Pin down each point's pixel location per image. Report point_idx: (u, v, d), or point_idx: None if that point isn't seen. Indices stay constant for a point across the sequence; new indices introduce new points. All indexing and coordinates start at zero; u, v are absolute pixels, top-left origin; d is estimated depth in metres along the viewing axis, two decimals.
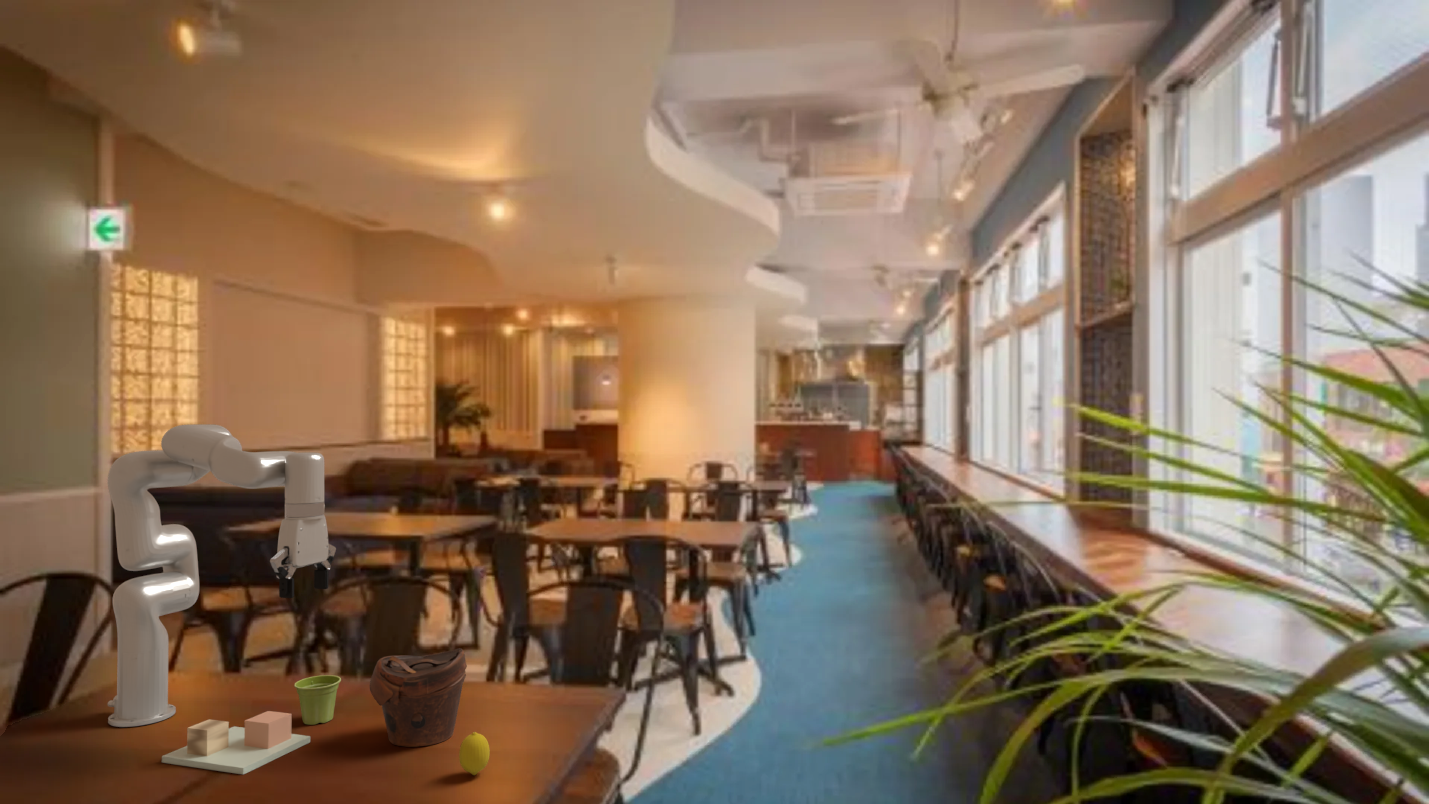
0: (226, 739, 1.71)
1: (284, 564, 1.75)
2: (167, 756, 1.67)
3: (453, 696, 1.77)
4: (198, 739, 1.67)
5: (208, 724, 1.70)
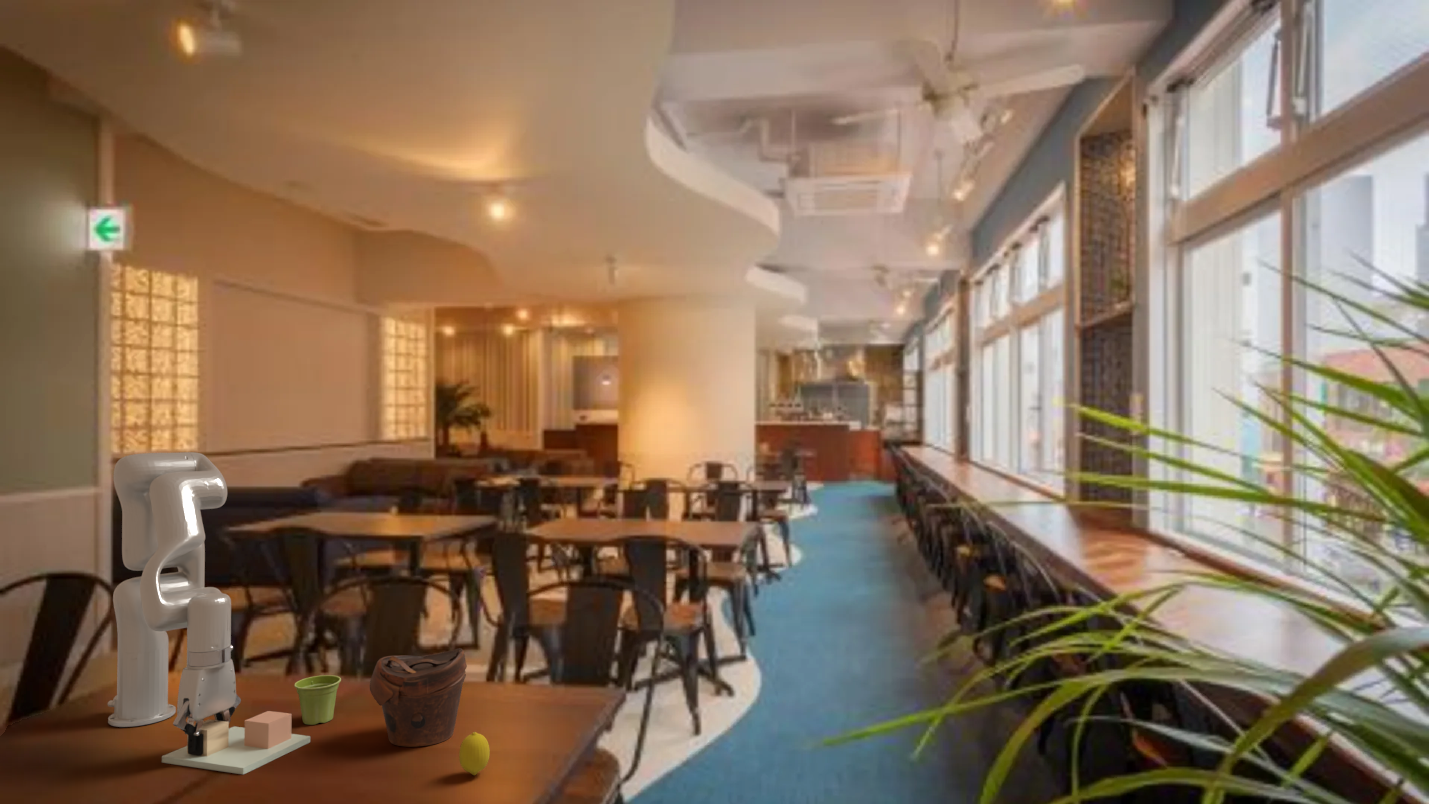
0: (226, 739, 1.71)
1: None
2: (167, 756, 1.67)
3: (453, 696, 1.77)
4: None
5: (208, 724, 1.70)
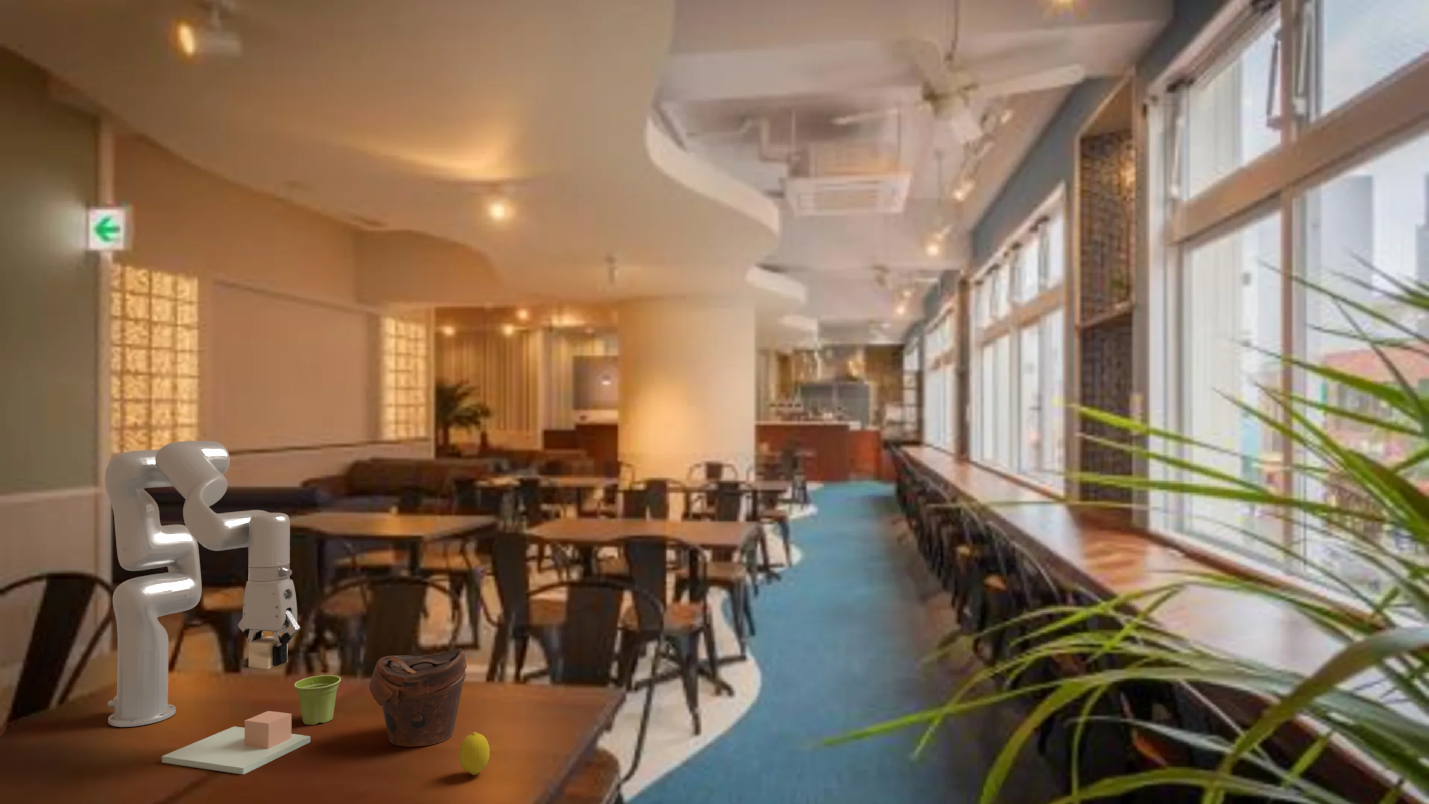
0: (266, 660, 1.71)
1: None
2: (167, 756, 1.67)
3: (453, 696, 1.77)
4: None
5: (269, 639, 1.75)
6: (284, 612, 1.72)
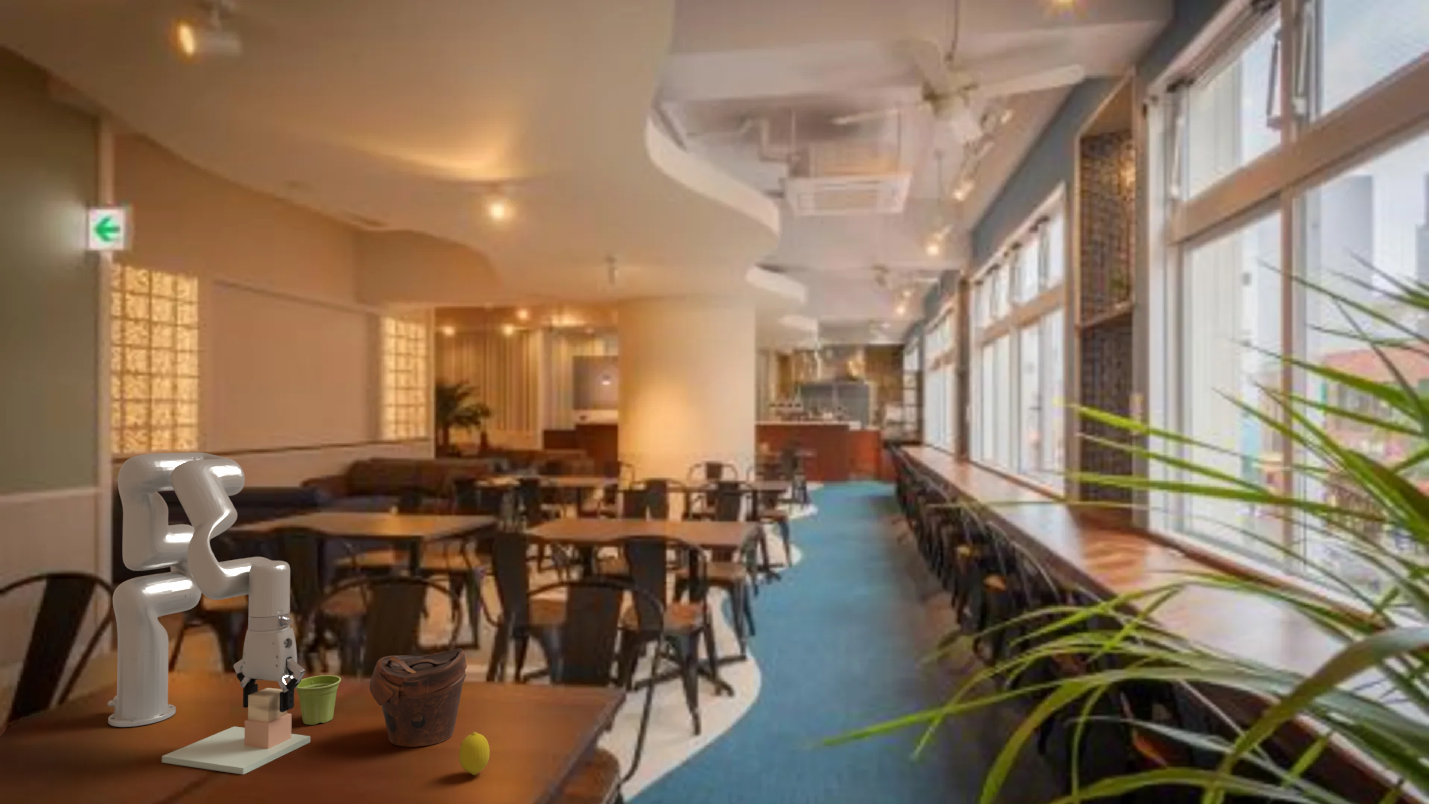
0: (266, 714, 1.71)
1: None
2: (167, 756, 1.67)
3: (453, 696, 1.77)
4: None
5: (269, 692, 1.74)
6: (284, 661, 1.72)
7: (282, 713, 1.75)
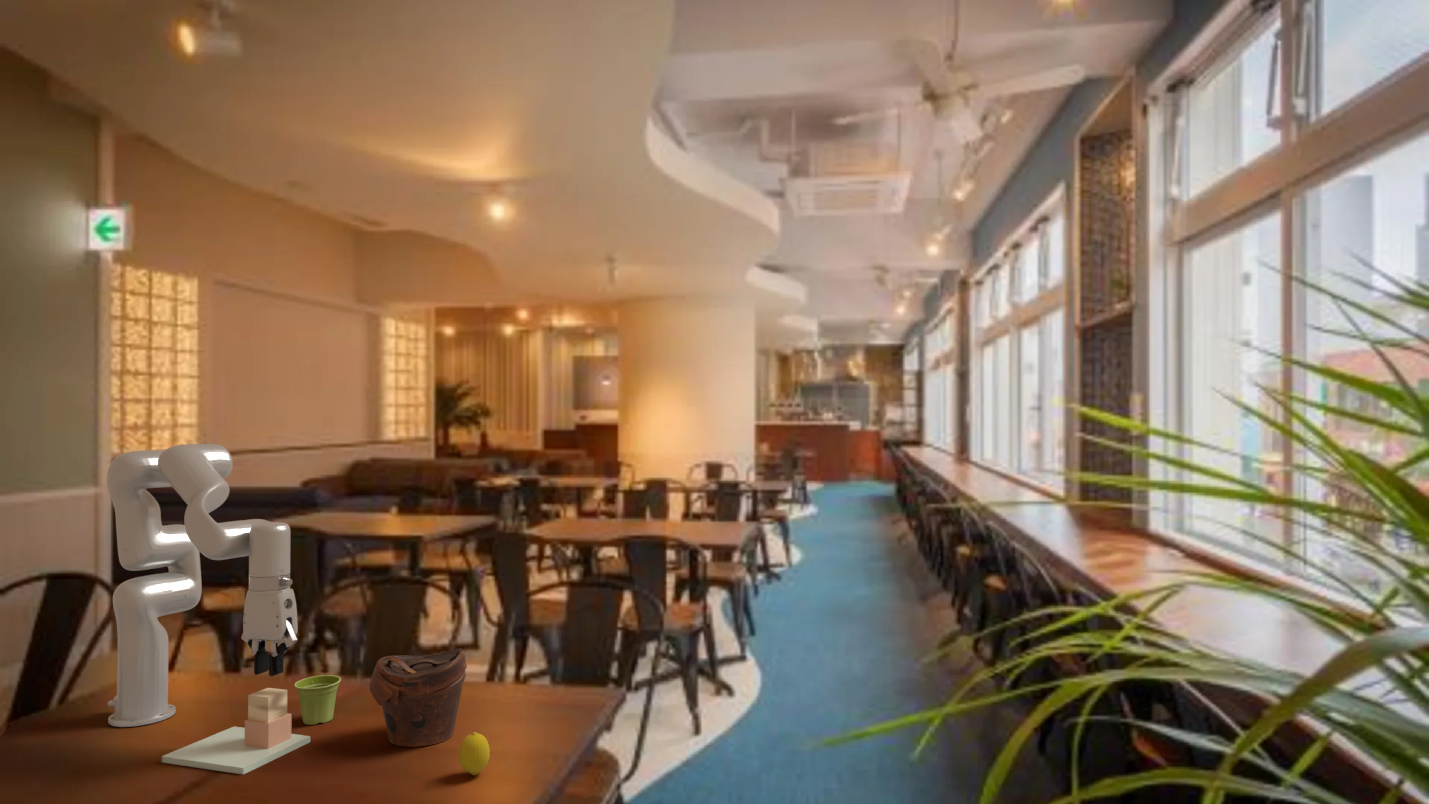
0: (266, 714, 1.71)
1: None
2: (167, 756, 1.67)
3: (453, 696, 1.77)
4: None
5: (269, 692, 1.74)
6: (284, 622, 1.72)
7: (282, 713, 1.75)
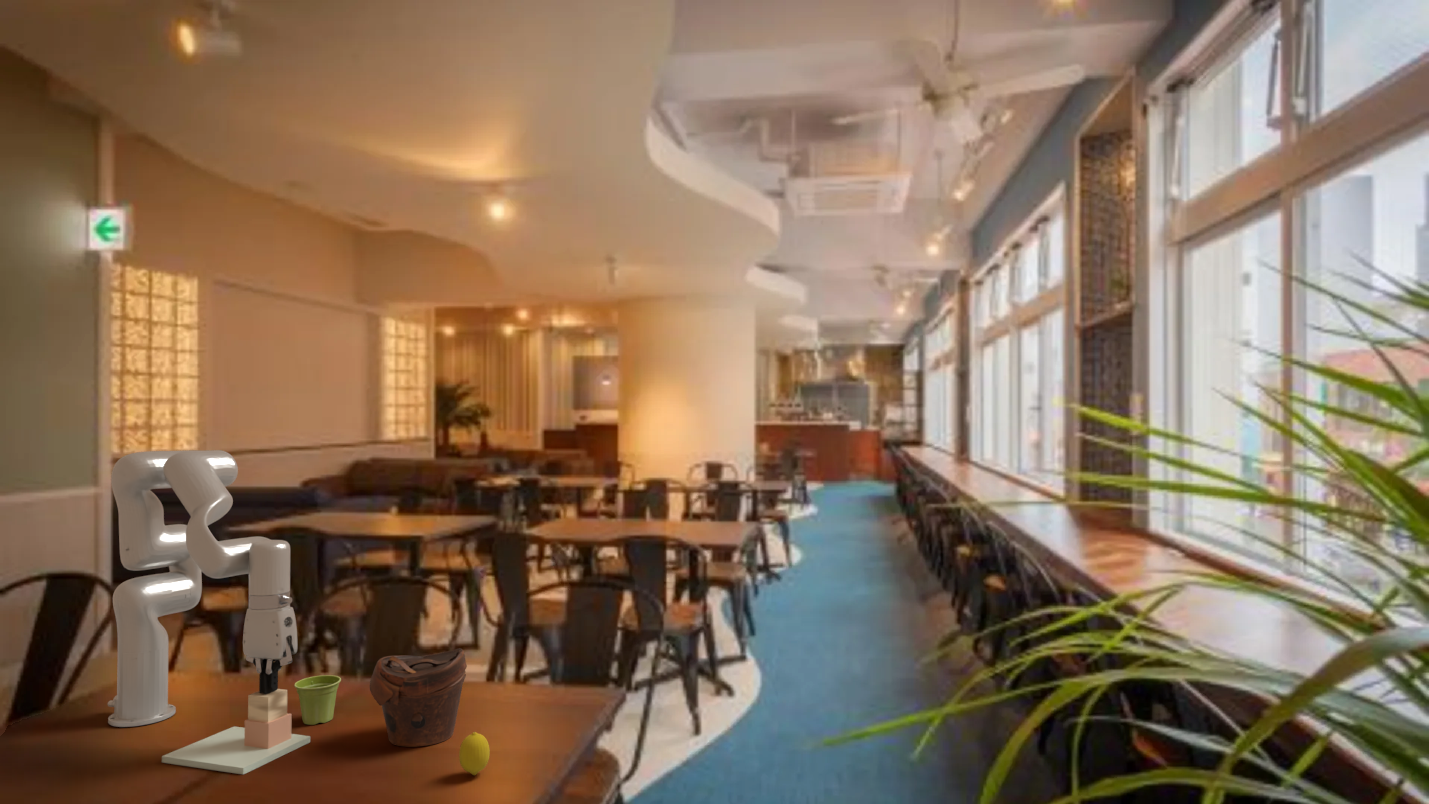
0: (266, 714, 1.71)
1: None
2: (167, 756, 1.67)
3: (453, 696, 1.77)
4: None
5: None
6: (284, 640, 1.72)
7: (282, 713, 1.75)
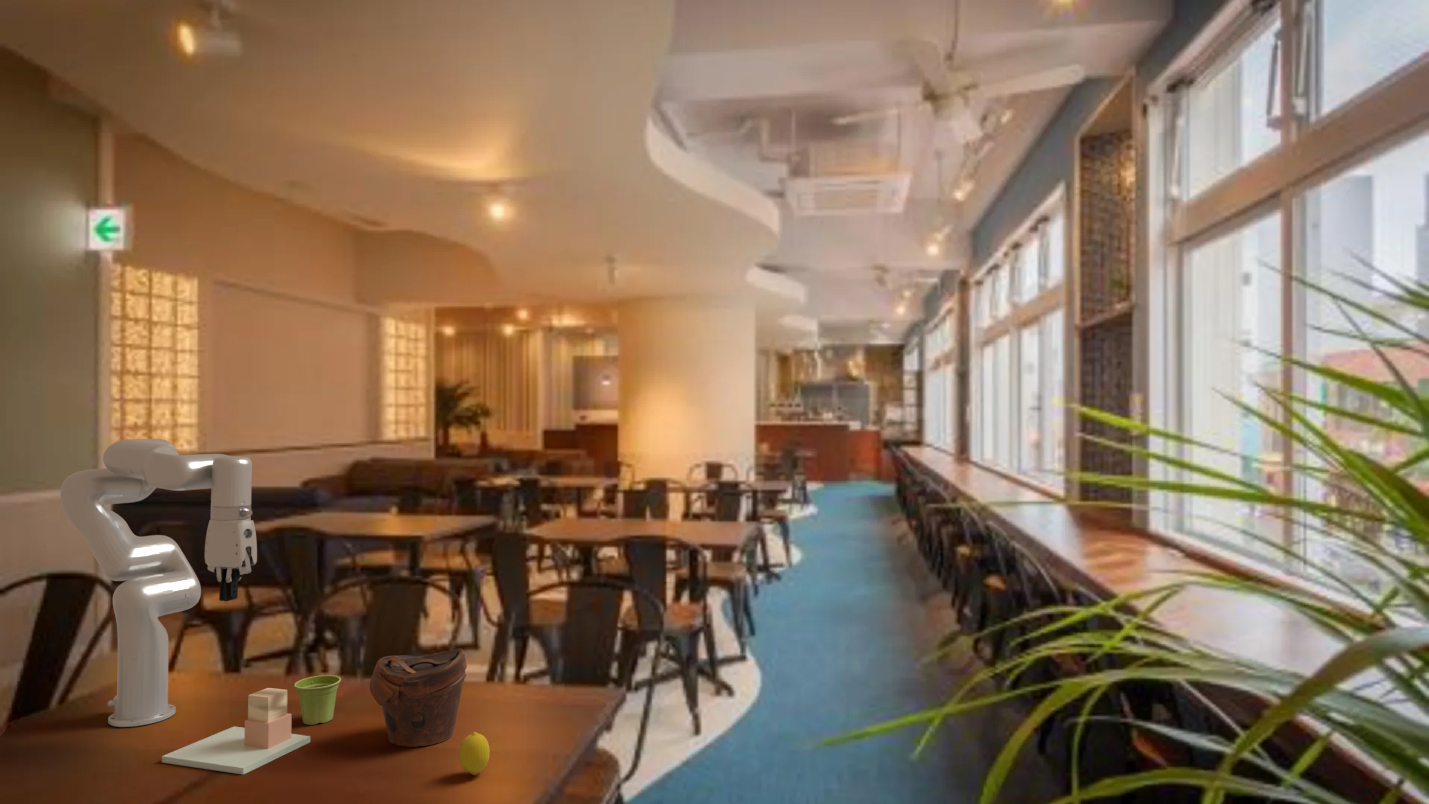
0: (266, 714, 1.71)
1: None
2: (167, 756, 1.67)
3: (453, 696, 1.77)
4: None
5: (269, 692, 1.74)
6: (244, 550, 1.80)
7: (282, 713, 1.75)
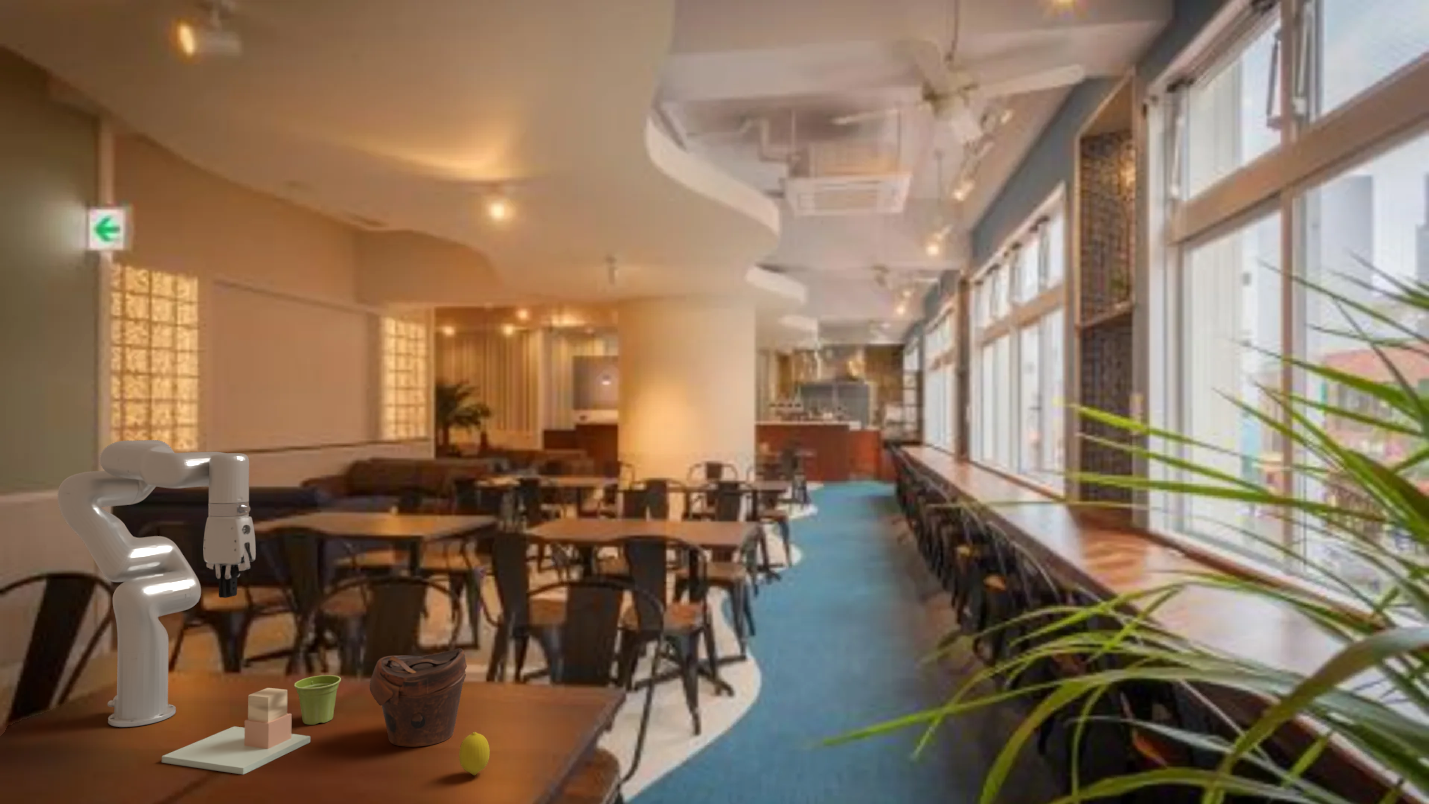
0: (266, 714, 1.71)
1: None
2: (167, 756, 1.67)
3: (453, 696, 1.77)
4: None
5: (269, 692, 1.74)
6: (242, 546, 1.81)
7: (282, 713, 1.75)
